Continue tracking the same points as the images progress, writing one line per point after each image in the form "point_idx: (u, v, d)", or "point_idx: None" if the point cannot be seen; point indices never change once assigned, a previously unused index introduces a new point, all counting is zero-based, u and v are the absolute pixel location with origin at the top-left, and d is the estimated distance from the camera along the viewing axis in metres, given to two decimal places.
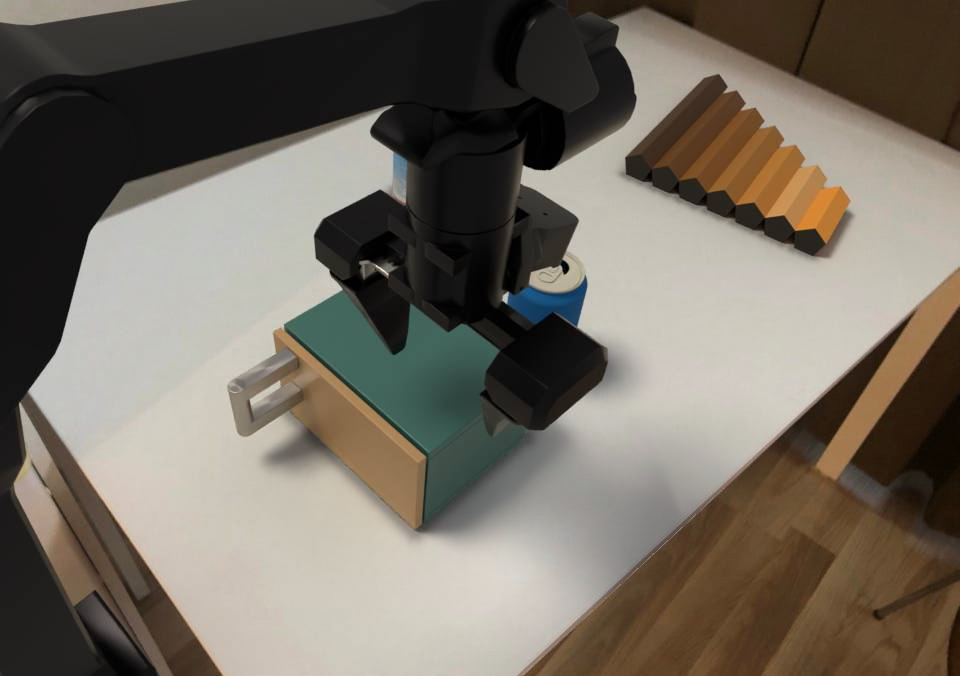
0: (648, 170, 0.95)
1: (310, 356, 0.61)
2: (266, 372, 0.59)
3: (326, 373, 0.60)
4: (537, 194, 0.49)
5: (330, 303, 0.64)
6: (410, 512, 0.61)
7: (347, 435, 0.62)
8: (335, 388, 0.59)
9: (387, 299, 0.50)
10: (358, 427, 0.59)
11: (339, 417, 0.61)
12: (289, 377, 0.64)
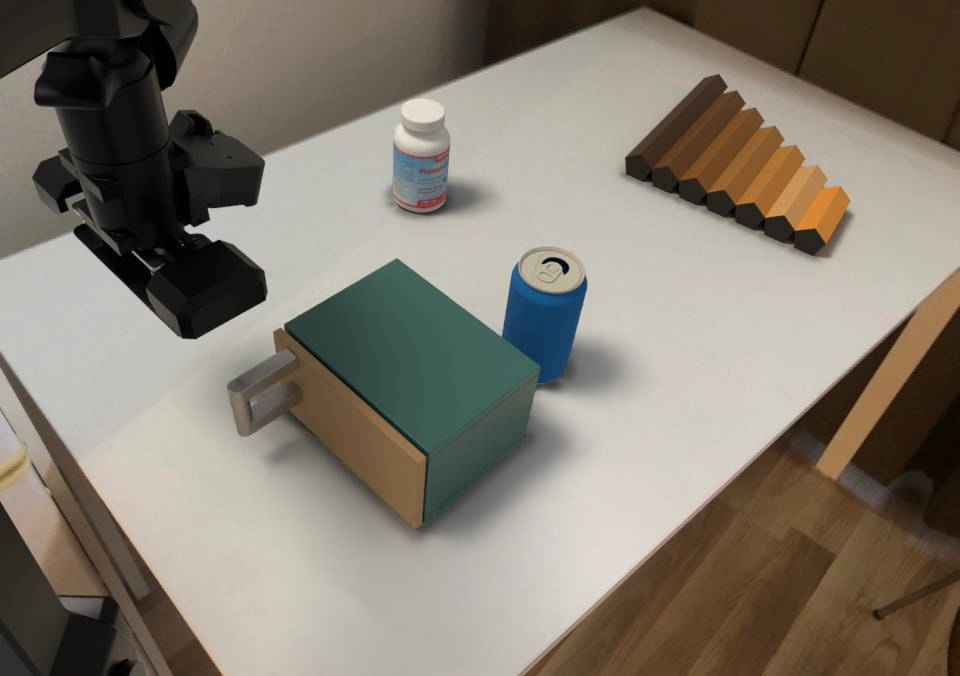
0: (648, 170, 0.95)
1: (310, 356, 0.61)
2: (266, 372, 0.59)
3: (326, 373, 0.60)
4: (235, 142, 0.55)
5: (330, 303, 0.64)
6: (410, 512, 0.61)
7: (347, 435, 0.62)
8: (335, 388, 0.59)
9: (132, 257, 0.55)
10: (358, 427, 0.59)
11: (339, 417, 0.61)
12: (289, 377, 0.64)
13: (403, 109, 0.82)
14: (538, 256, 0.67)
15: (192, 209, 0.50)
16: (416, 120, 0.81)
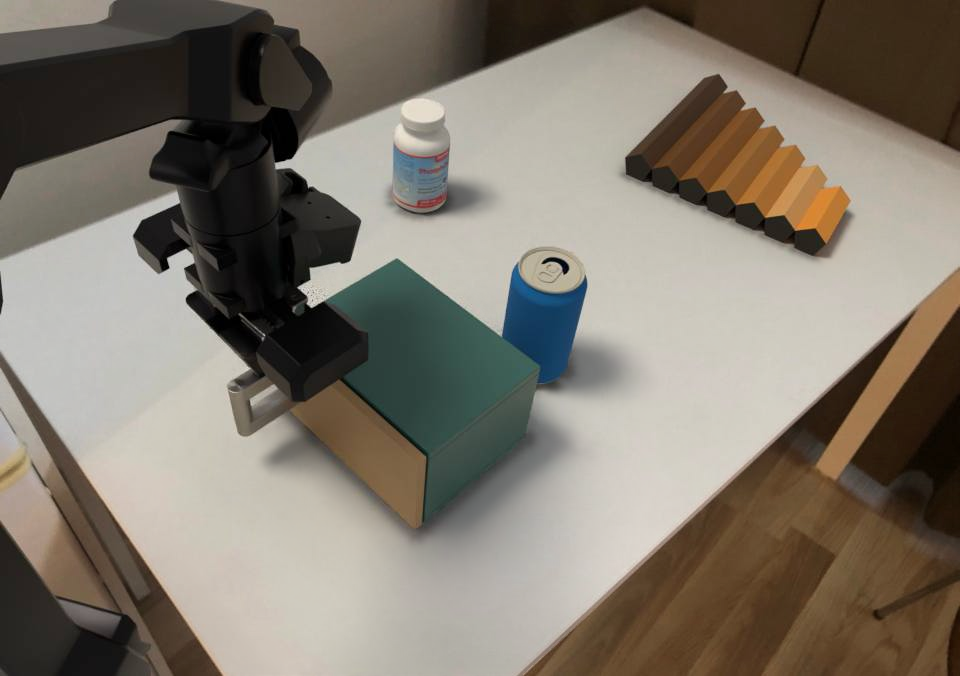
0: (648, 170, 0.95)
1: None
2: None
3: None
4: (330, 199, 0.56)
5: None
6: (410, 512, 0.61)
7: (347, 435, 0.62)
8: (335, 388, 0.59)
9: None
10: (358, 427, 0.59)
11: (339, 417, 0.61)
12: None
13: (403, 109, 0.82)
14: (538, 256, 0.67)
15: (296, 271, 0.51)
16: (416, 120, 0.81)
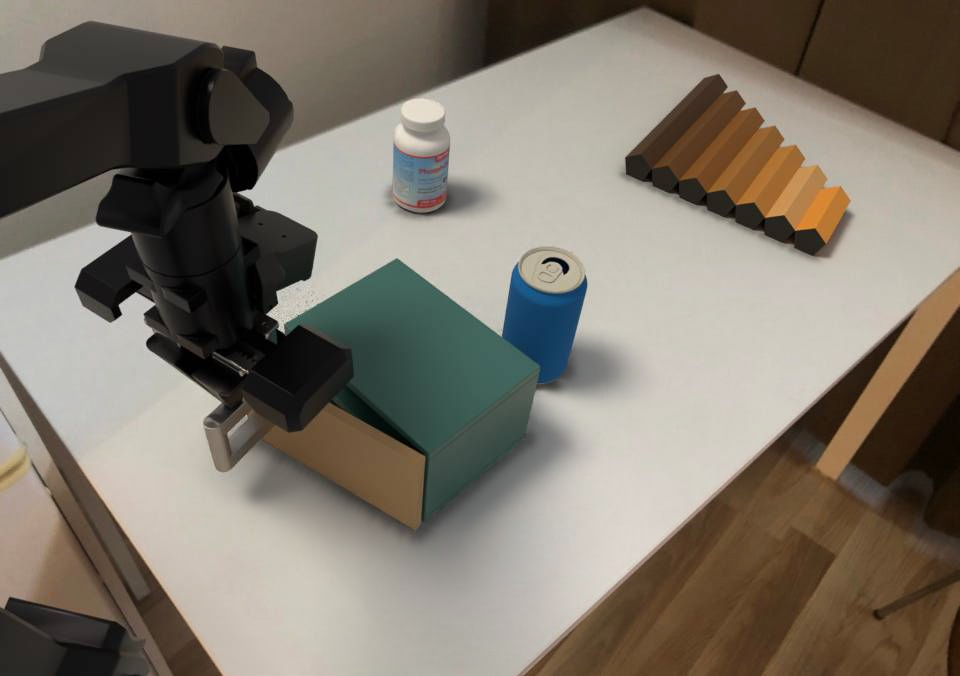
0: (648, 170, 0.95)
1: None
2: (240, 402, 0.57)
3: None
4: (279, 217, 0.54)
5: (330, 303, 0.64)
6: (410, 514, 0.60)
7: (332, 451, 0.61)
8: None
9: (208, 360, 0.53)
10: (345, 440, 0.59)
11: (321, 434, 0.60)
12: None
13: (403, 109, 0.82)
14: (538, 256, 0.67)
15: (264, 298, 0.50)
16: (416, 120, 0.81)
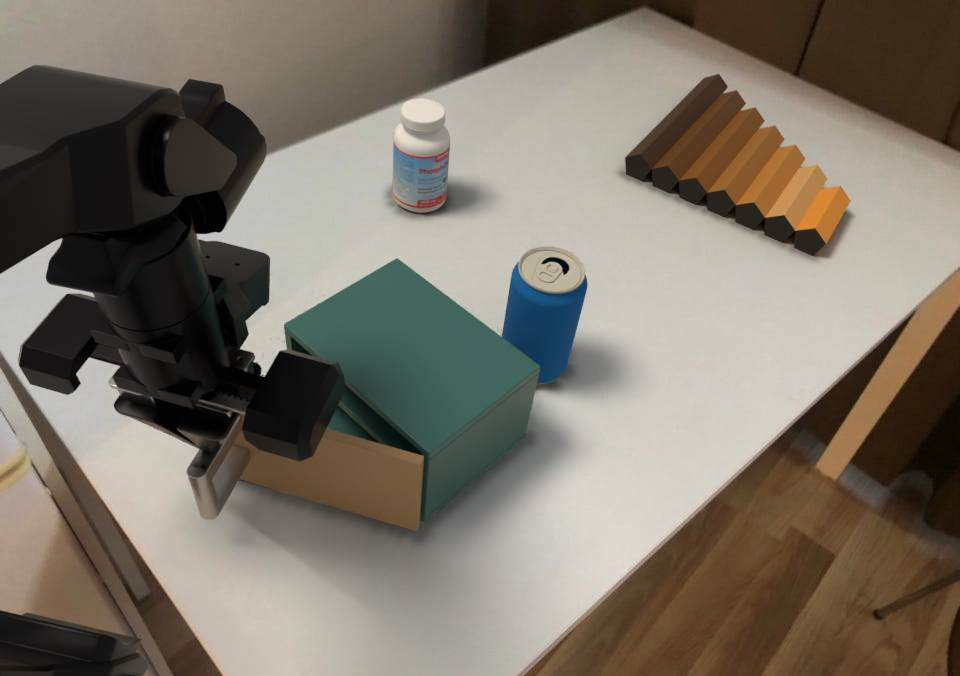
0: (648, 170, 0.95)
1: None
2: (219, 444, 0.55)
3: None
4: (222, 245, 0.51)
5: (330, 303, 0.64)
6: (410, 516, 0.60)
7: (319, 472, 0.59)
8: None
9: (183, 409, 0.50)
10: (335, 458, 0.57)
11: None
12: None
13: (403, 109, 0.82)
14: (538, 256, 0.67)
15: (237, 332, 0.47)
16: (416, 120, 0.81)
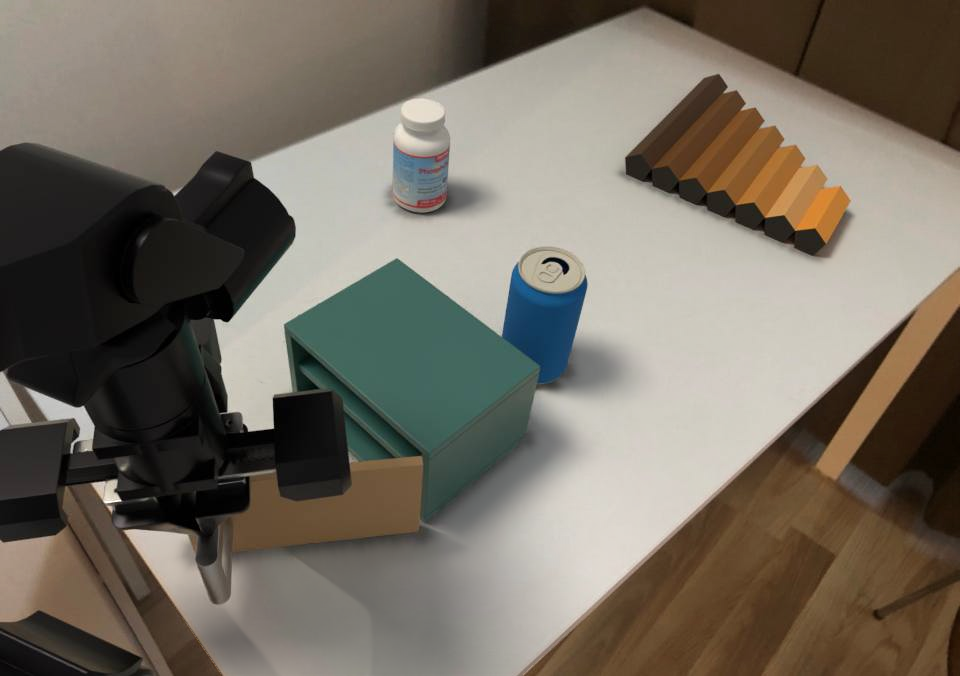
0: (648, 170, 0.95)
1: None
2: None
3: (266, 474, 0.53)
4: None
5: (330, 303, 0.64)
6: (412, 519, 0.60)
7: (312, 512, 0.57)
8: None
9: (180, 499, 0.46)
10: None
11: (298, 502, 0.56)
12: None
13: (403, 109, 0.82)
14: (538, 256, 0.67)
15: (223, 395, 0.44)
16: (416, 120, 0.81)
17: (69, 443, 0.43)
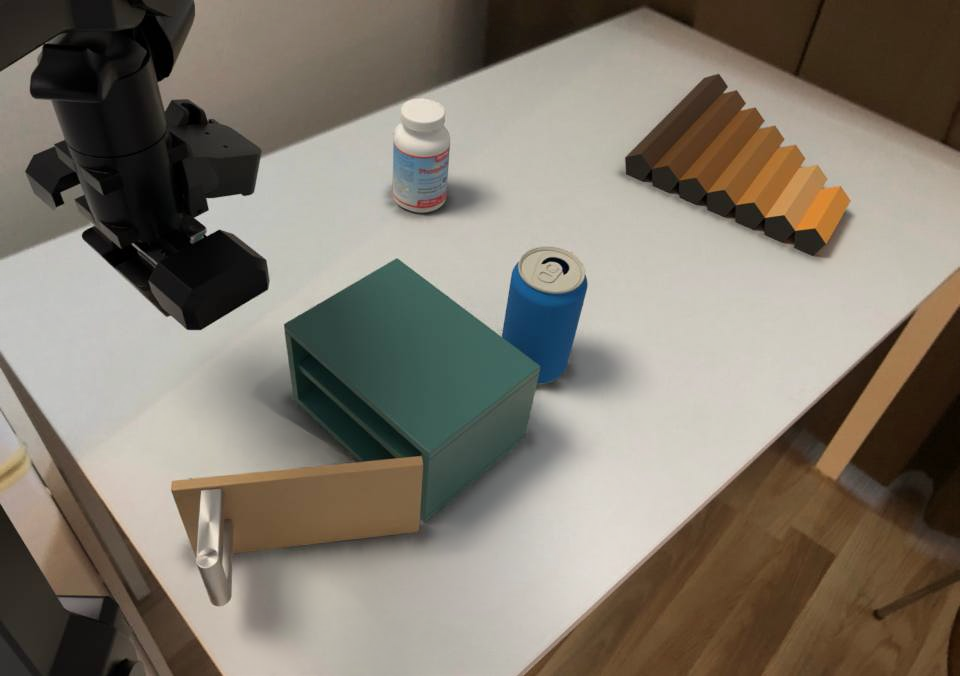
0: (648, 170, 0.95)
1: (233, 476, 0.53)
2: (216, 524, 0.51)
3: (266, 475, 0.53)
4: (230, 131, 0.55)
5: (330, 303, 0.64)
6: (412, 519, 0.60)
7: (312, 513, 0.57)
8: (290, 478, 0.53)
9: None
10: (330, 492, 0.55)
11: (298, 503, 0.56)
12: None
13: (403, 109, 0.82)
14: (538, 256, 0.67)
15: (191, 200, 0.50)
16: (416, 120, 0.81)
17: None
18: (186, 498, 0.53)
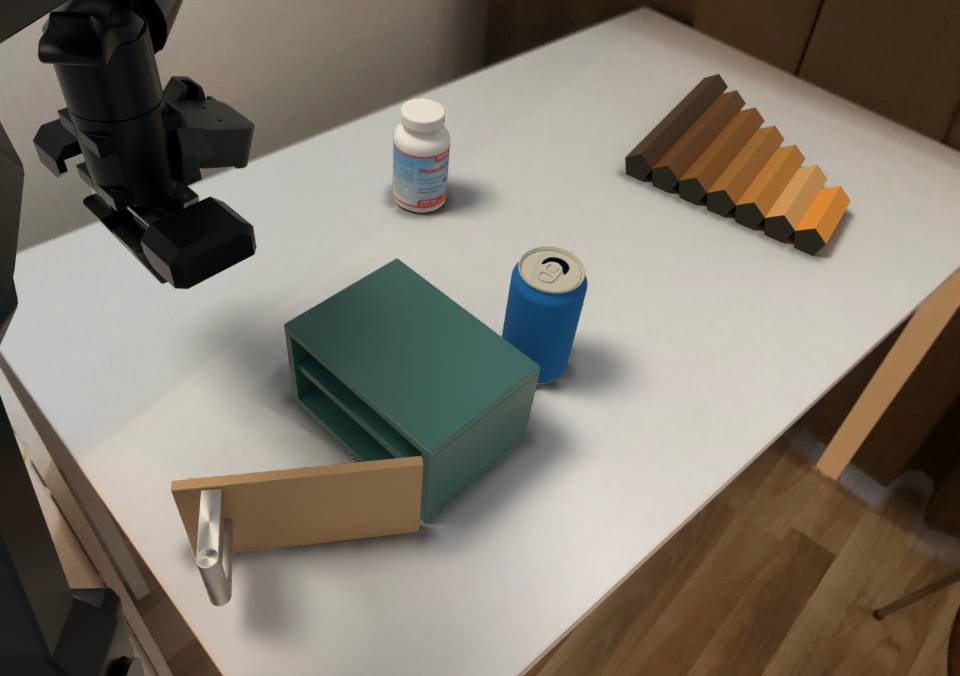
0: (648, 170, 0.95)
1: (233, 476, 0.53)
2: (216, 524, 0.51)
3: (266, 475, 0.53)
4: (226, 107, 0.58)
5: (330, 303, 0.64)
6: (412, 519, 0.60)
7: (312, 513, 0.57)
8: (290, 478, 0.53)
9: None
10: (330, 492, 0.55)
11: (298, 503, 0.56)
12: None
13: (403, 109, 0.82)
14: (538, 256, 0.67)
15: (185, 168, 0.53)
16: (416, 120, 0.81)
17: None
18: (186, 498, 0.53)
